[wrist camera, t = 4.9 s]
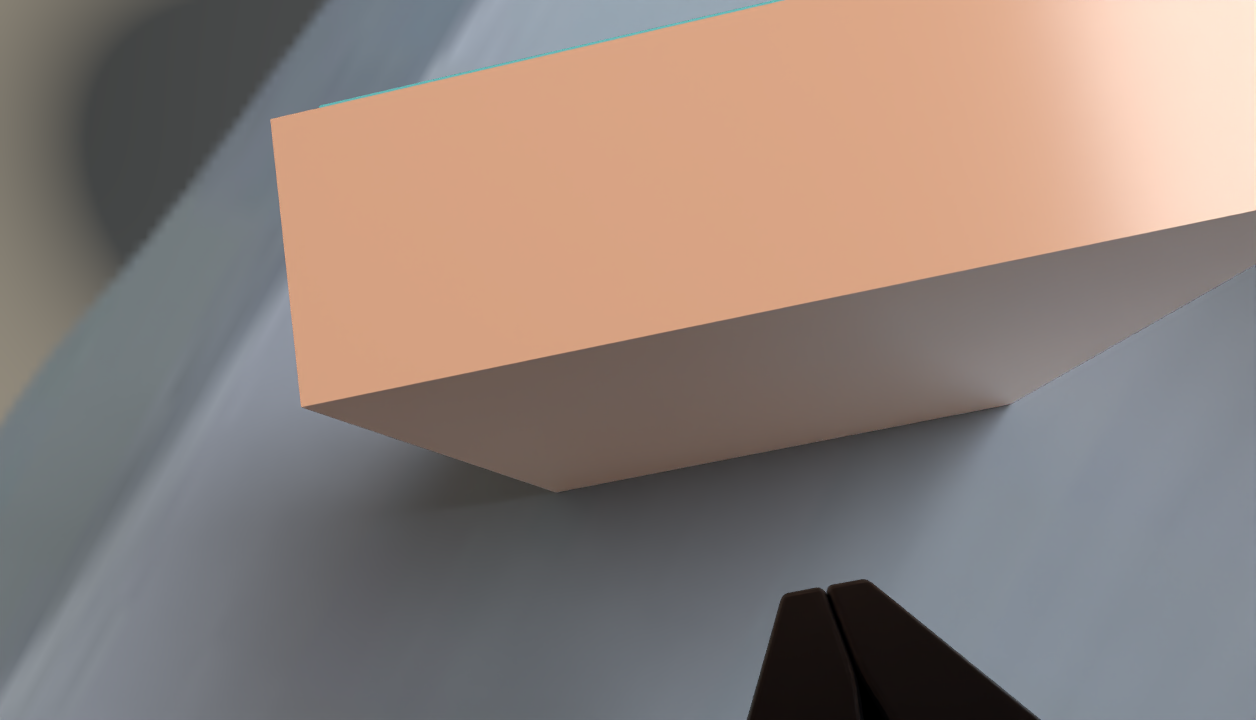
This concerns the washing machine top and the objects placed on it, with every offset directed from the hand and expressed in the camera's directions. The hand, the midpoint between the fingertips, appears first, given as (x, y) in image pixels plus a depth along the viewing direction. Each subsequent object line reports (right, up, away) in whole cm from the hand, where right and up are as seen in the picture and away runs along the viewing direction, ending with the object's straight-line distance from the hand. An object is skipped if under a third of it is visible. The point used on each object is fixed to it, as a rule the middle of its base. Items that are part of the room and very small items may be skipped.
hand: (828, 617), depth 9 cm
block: (0, +2, +8) cm, 8 cm away
